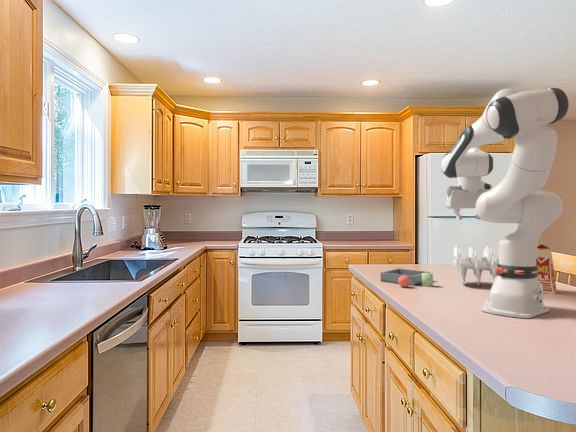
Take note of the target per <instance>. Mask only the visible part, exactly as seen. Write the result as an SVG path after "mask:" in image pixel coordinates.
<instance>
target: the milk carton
mask: <svg viewBox="0 0 576 432" xmlns="http://www.w3.org/2000/svg"><path fill="white" fill-rule="evenodd" d="M536 266H538V276H537V279H538V281H539V282H540V283H541V284H542V285H543V294H551V295H555V294H556V292H557V284H556V275H555V269H554V268H555V267H554V261H553V254H552V248H550V247H548V246H546V245H544V243H543V240H541V241H540V244H539V245H537V255H536Z"/></svg>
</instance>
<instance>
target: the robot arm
mask: <svg viewBox="0 0 576 432" xmlns="http://www.w3.org/2000/svg"><path fill="white" fill-rule="evenodd" d="M569 105H570V104H569V98H568V96H567V94H566V93H565V91H564V90H563V89H561V88H558V87H544V88H542V89H534V90H529V91H519V90H518V89H515V88H503V89H501V90H499V91H497V92H496V93H495V94H494V95H493V96H492V98H491V99H490V101H489V102H488V104H487V105H486V107H485V108H484V111H483V113H482V115H481V116H480V117H479V118H478V119H477V120H475V122H473V123H472V124H471V125H468V126H467V127H465V128H464V130H463V131H462V132H461V133H460V135H459V136H458V138H457V139H456V141H455V143H454V144H453V145H452V146H451V148H450V149H449V151H447V153H445V154H444V155H443V157H442V159H441V162H440V163H441V165H440V167H441V168H440V169H441V173H442V174H443V175H445V176H446V177H447V178H448V179H455V178H457V185H450V186H449V187H448V188H447V189H446V198H445V207H446V209H451V210H453V212H454V215H455V220H456V221H461V220H463V215H461V214H460V211H461V209H475V212H476V214H475V219H476V220H481V221H484V222H489V223H494V224H517V228H516V229H515V231H514V232H511V233H509V234H506V235H505V236H503V237H502V238H501V239H500V241H499V242H498V255H499V257H498V258H499V263H498V264H497V267H496V270H495V272H496V275H497V277H496V278H495V279H493V282H492V285H491V288H490V291H489V298H487V299H486V300H485V302H484V304H483V305H482V307H481V311H482V312H485V313H488V314H493V315H499V316H505V317H510V318H511V317H513V318H518V319H519V318H520V319H531V318H534V317H537V316H540V315H543V314H545V313H548V312H550V308H549V307H548V306H545V305H544V293H543V285H542V284H541V283H540V282H539V281H538V279H537V276H538V266H536V255H537V246H539V245H538V244H539V240H540V237H541V236H542V234H543V232H544V231H545V230H546V229H547V227H549V226H550V225H551V224H552V223H554V222H555V221H557V220H558V219H559V218H560V216H561V215H562V213H563V207H564V206H563V200H562V199H561V197H560V196H559V195H558V194H557V193H556V192H552V191H547V190H541V189H542V188H543V187H544V186H545V185H546V184H547V182H548V178H549V176H550V173H551V171H552V167H553V164H554V162H555V158H556V154H557V147H558V134H557V132H556V131H555V130H554V129H553V128H552V127H550V126H547V125H552V124H555V123H557V122H559V121H561V120H563V119H564V118H565V117H566V115H567V113H568V110H569ZM510 139H514V141H515V144H514V145H515V146H514V149H513V152H512V154H511V155H512V156H511V159H510V163H509V166H508V168H507V171H506V173H505V176H504V178H502V180H501V181H500V182H499V183H498V184H496V185H495V186H494V187H493V185H492V184H490V183H487V182H485V181H483V180H482V177H487V176H488V175H490V173H492V172H493V170H494V157H493V156H492V155H491V154H490V153H489V152H486V151H483V150H482V147H481V146H485V145H490V144H497V143H500V142H503V141H504V140H510Z"/></svg>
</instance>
